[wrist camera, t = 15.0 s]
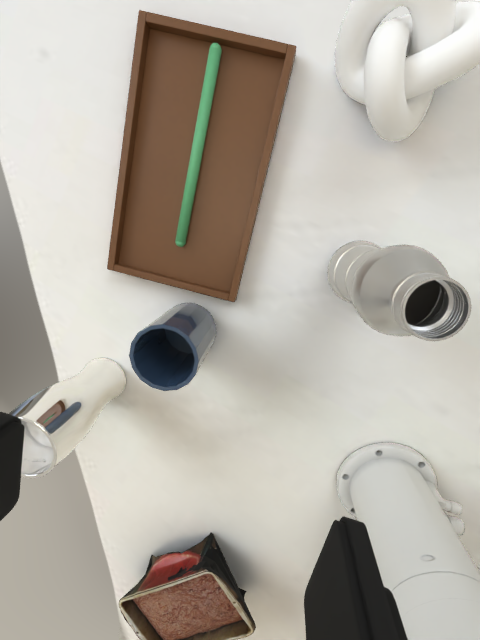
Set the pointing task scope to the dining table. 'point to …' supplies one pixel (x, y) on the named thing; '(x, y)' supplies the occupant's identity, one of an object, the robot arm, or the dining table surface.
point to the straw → (198, 142)
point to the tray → (175, 149)
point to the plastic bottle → (399, 290)
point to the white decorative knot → (404, 57)
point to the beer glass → (65, 414)
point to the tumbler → (173, 347)
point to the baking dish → (188, 598)
